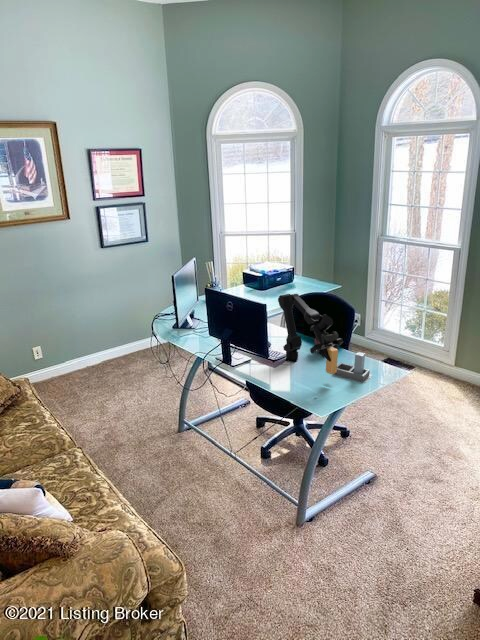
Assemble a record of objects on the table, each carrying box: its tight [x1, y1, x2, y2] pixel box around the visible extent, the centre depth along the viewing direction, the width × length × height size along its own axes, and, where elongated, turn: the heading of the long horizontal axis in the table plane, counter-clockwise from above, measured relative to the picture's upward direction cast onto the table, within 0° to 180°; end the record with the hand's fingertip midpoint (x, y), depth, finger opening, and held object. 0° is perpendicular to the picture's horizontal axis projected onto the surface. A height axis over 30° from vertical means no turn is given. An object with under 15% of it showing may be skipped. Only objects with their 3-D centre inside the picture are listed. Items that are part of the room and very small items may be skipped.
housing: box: [332, 362, 373, 384], centre depth 258 cm, size 20×12×4 cm, turn 56°
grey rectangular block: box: [353, 351, 366, 375], centre depth 254 cm, size 5×5×13 cm
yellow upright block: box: [325, 347, 339, 375], centre depth 247 cm, size 5×5×13 cm
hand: (333, 360), depth 245 cm, fingers closed on yellow upright block, 4 cm apart
